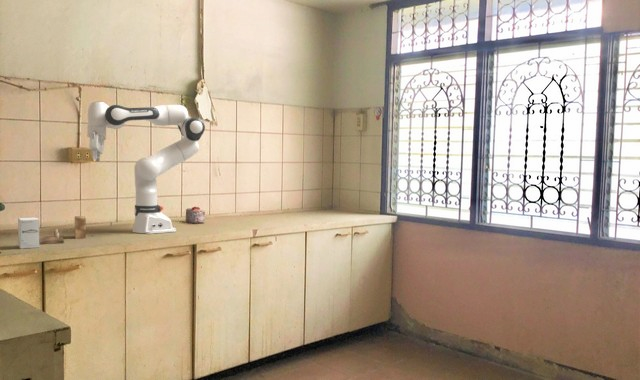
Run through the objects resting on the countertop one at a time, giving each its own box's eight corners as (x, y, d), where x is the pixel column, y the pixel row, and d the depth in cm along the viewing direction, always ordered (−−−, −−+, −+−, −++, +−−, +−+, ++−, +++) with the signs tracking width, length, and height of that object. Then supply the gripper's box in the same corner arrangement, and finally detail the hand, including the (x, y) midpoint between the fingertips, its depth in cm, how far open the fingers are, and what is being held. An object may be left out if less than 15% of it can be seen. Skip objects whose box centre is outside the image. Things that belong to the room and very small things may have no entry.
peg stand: (62, 238, 255) (62, 228, 255) (63, 243, 243) (63, 233, 243) (29, 239, 249) (28, 229, 248) (28, 244, 236) (28, 234, 236)
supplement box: (20, 249, 227) (19, 219, 226) (18, 246, 233) (17, 217, 232) (39, 247, 231) (39, 219, 230) (36, 244, 237) (36, 217, 236)
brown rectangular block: (84, 236, 263) (84, 216, 263) (85, 238, 257) (85, 217, 256) (74, 236, 261) (74, 216, 260) (75, 238, 255) (75, 218, 254)
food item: (206, 223, 318) (207, 207, 318) (195, 224, 313) (195, 208, 312) (194, 221, 328) (195, 205, 327) (183, 221, 323) (183, 205, 322)
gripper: (100, 129, 259) (99, 157, 258) (106, 137, 279) (105, 163, 278) (86, 129, 258) (85, 157, 256) (93, 136, 277) (92, 163, 276)
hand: (96, 160), depth 267 cm, fingers open, 8 cm apart
